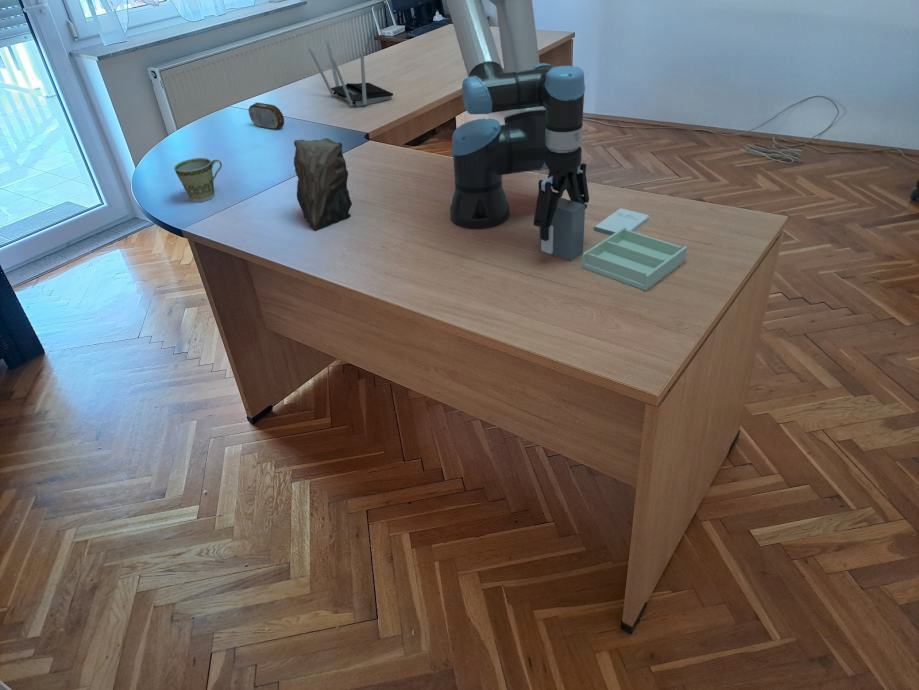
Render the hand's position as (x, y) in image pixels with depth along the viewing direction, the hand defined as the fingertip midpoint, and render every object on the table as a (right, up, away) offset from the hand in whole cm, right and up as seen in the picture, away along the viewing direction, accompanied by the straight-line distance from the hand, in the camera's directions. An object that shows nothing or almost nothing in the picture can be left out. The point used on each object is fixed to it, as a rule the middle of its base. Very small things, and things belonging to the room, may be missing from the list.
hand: (561, 243), depth 155 cm
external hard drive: (+16, +5, +11) cm, 20 cm away
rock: (-59, +10, +24) cm, 64 cm away
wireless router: (-64, +73, +113) cm, 149 cm away
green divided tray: (+15, -5, -5) cm, 17 cm away
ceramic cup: (-96, +20, +42) cm, 107 cm away
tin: (-92, +55, +91) cm, 141 cm away
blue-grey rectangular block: (0, -2, +1) cm, 2 cm away
